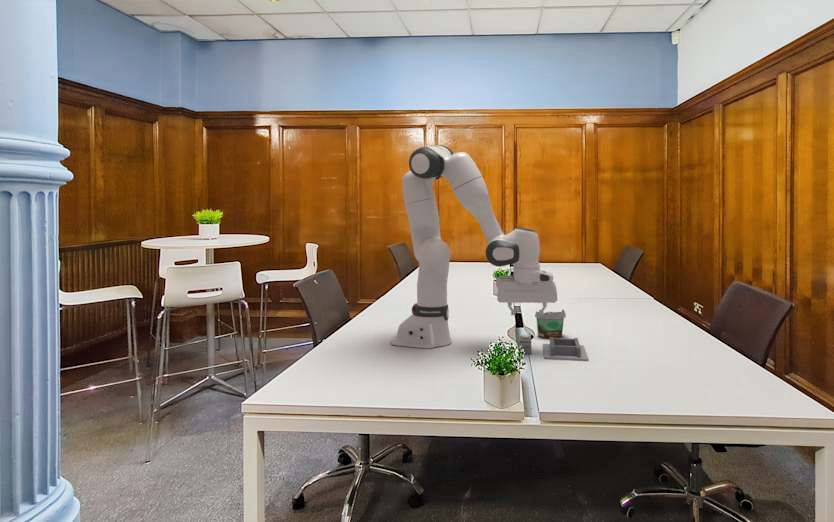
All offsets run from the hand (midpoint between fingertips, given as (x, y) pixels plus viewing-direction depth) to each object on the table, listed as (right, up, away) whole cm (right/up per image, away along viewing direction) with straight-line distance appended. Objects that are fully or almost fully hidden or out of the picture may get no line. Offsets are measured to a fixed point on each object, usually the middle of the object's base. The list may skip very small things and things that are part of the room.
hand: (527, 315), depth 179 cm
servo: (0, -13, +1) cm, 13 cm away
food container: (+14, -11, +19) cm, 26 cm away
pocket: (+12, -13, -1) cm, 18 cm away
